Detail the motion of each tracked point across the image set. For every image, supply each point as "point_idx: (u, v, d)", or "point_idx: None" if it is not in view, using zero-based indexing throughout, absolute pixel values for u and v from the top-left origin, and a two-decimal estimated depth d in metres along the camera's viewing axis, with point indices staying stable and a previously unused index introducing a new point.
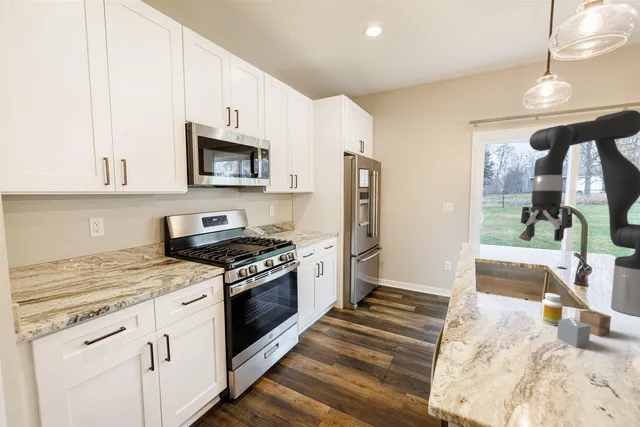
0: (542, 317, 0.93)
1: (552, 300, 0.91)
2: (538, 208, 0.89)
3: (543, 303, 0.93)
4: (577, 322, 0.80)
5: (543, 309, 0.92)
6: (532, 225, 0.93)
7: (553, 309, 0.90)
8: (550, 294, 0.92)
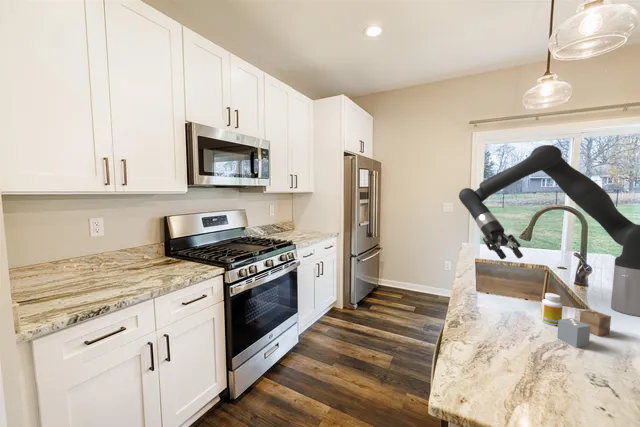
0: (542, 317, 0.93)
1: (552, 300, 0.91)
2: None
3: (543, 303, 0.93)
4: (577, 322, 0.80)
5: (543, 309, 0.92)
6: (514, 249, 1.09)
7: (553, 309, 0.90)
8: (550, 294, 0.92)
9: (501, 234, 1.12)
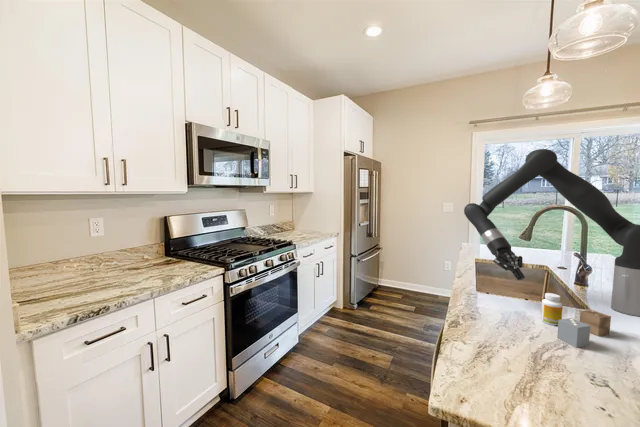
0: (542, 317, 0.93)
1: (552, 300, 0.91)
2: None
3: (543, 303, 0.93)
4: (577, 322, 0.80)
5: (543, 309, 0.92)
6: None
7: (553, 309, 0.90)
8: (550, 294, 0.92)
9: (508, 251, 1.09)
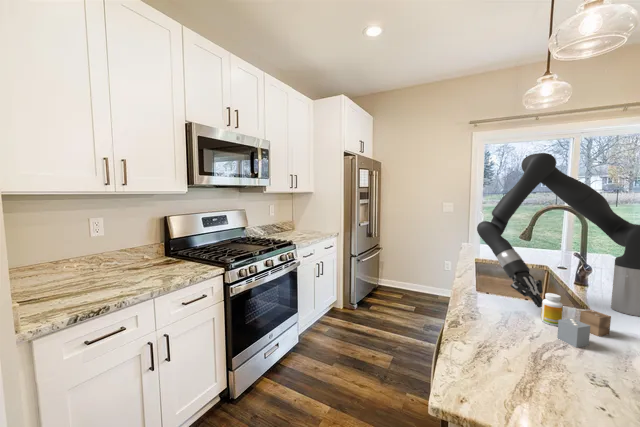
0: (542, 317, 0.93)
1: (552, 300, 0.90)
2: None
3: (543, 303, 0.92)
4: (577, 322, 0.80)
5: (543, 309, 0.92)
6: None
7: (553, 309, 0.90)
8: (550, 294, 0.92)
9: (526, 275, 1.02)
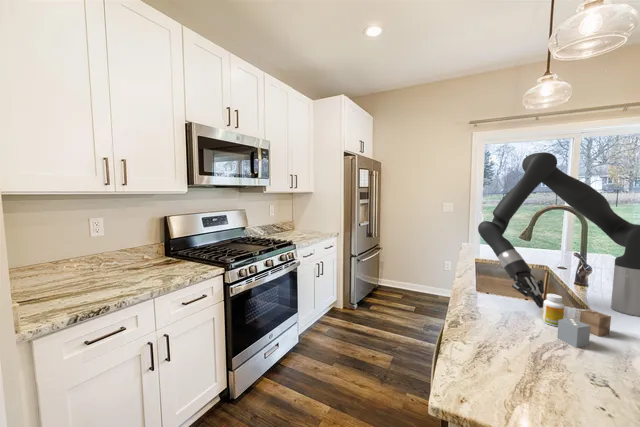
0: (544, 318, 0.92)
1: (554, 301, 0.90)
2: None
3: (545, 304, 0.92)
4: (577, 322, 0.80)
5: (545, 310, 0.91)
6: (536, 296, 0.97)
7: (555, 310, 0.89)
8: (552, 295, 0.91)
9: (527, 275, 1.02)
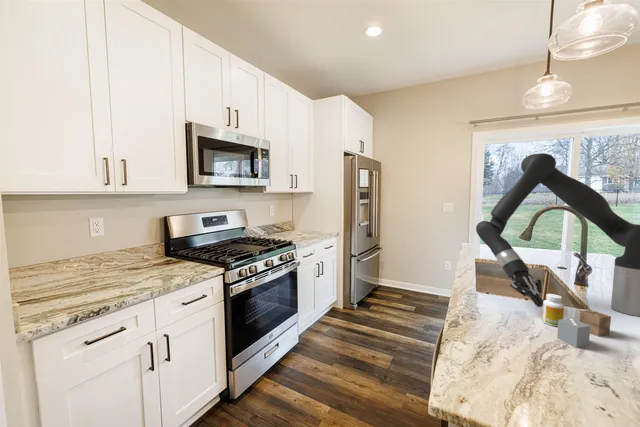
0: (544, 318, 0.92)
1: (554, 301, 0.90)
2: None
3: (545, 304, 0.91)
4: (577, 322, 0.80)
5: (545, 310, 0.91)
6: None
7: (555, 310, 0.89)
8: (551, 295, 0.92)
9: (525, 274, 1.02)
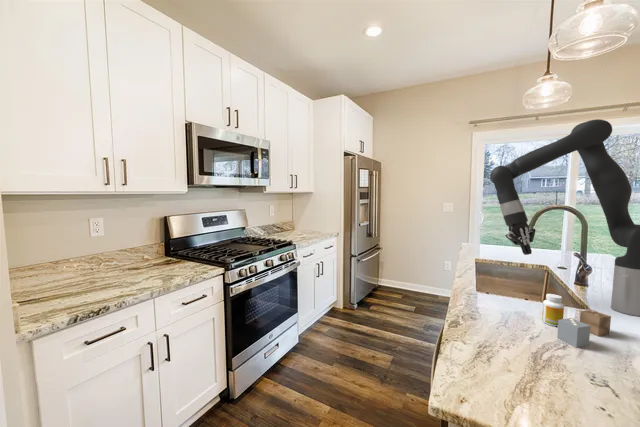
0: (544, 318, 0.92)
1: (554, 301, 0.90)
2: None
3: (545, 304, 0.91)
4: (577, 322, 0.80)
5: (545, 310, 0.91)
6: None
7: (555, 310, 0.89)
8: (551, 295, 0.92)
9: (523, 225, 1.09)
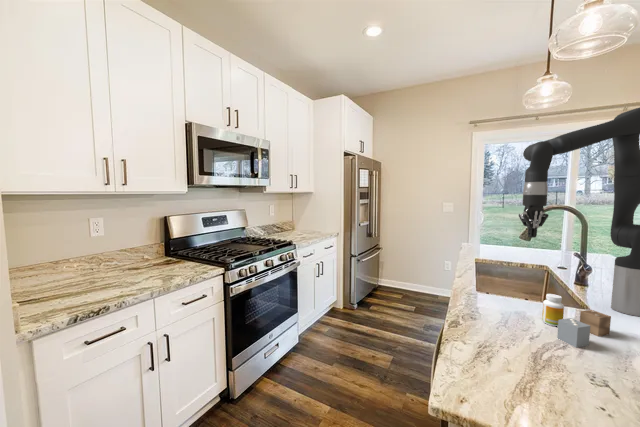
0: (544, 318, 0.92)
1: (554, 301, 0.90)
2: None
3: (545, 304, 0.91)
4: (577, 322, 0.80)
5: (545, 310, 0.91)
6: None
7: (555, 310, 0.89)
8: (551, 295, 0.92)
9: (539, 208, 1.06)
